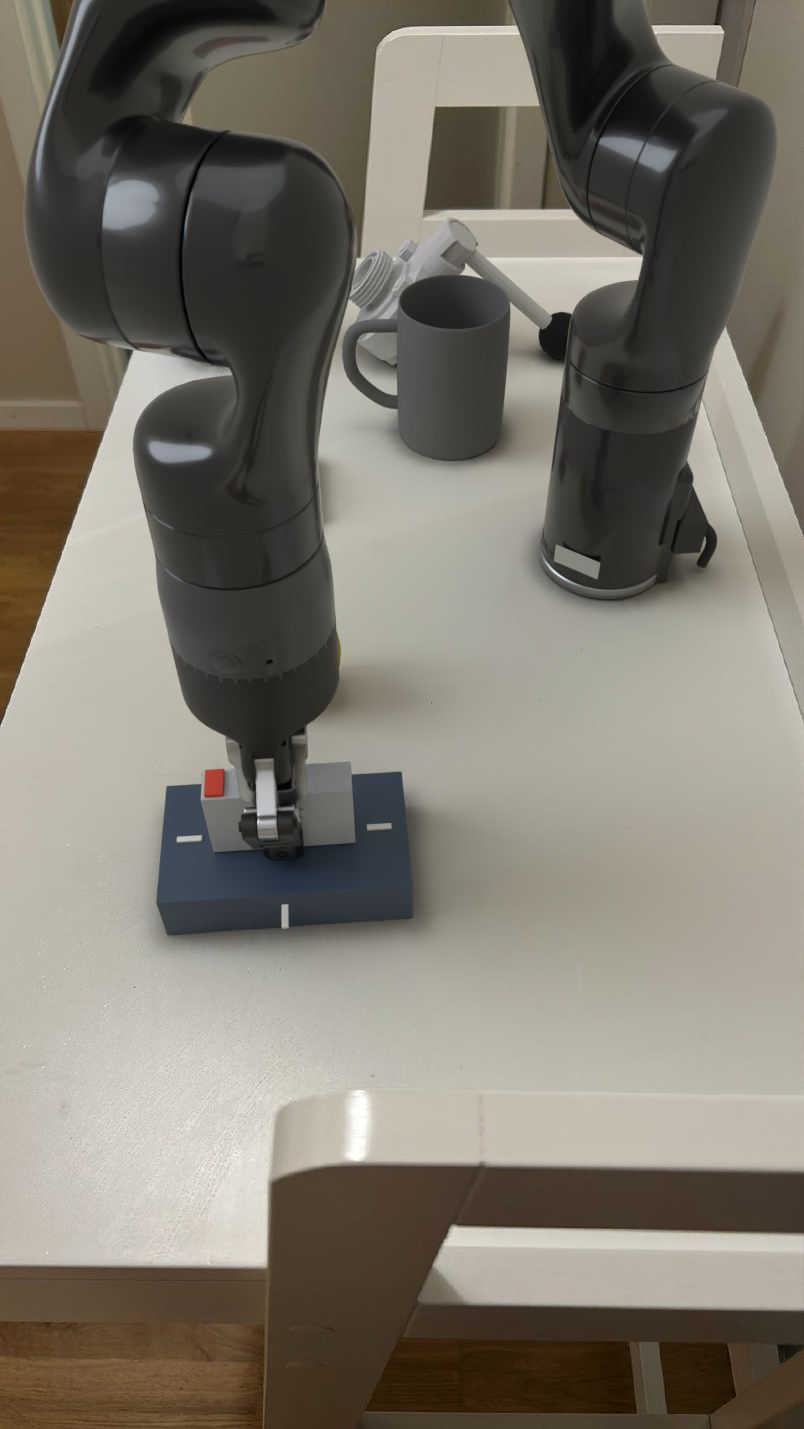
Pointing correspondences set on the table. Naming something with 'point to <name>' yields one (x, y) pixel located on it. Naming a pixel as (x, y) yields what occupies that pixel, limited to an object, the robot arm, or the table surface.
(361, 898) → the blue dial base
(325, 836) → the white slab
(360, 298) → the valve
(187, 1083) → the table surface
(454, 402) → the mug
